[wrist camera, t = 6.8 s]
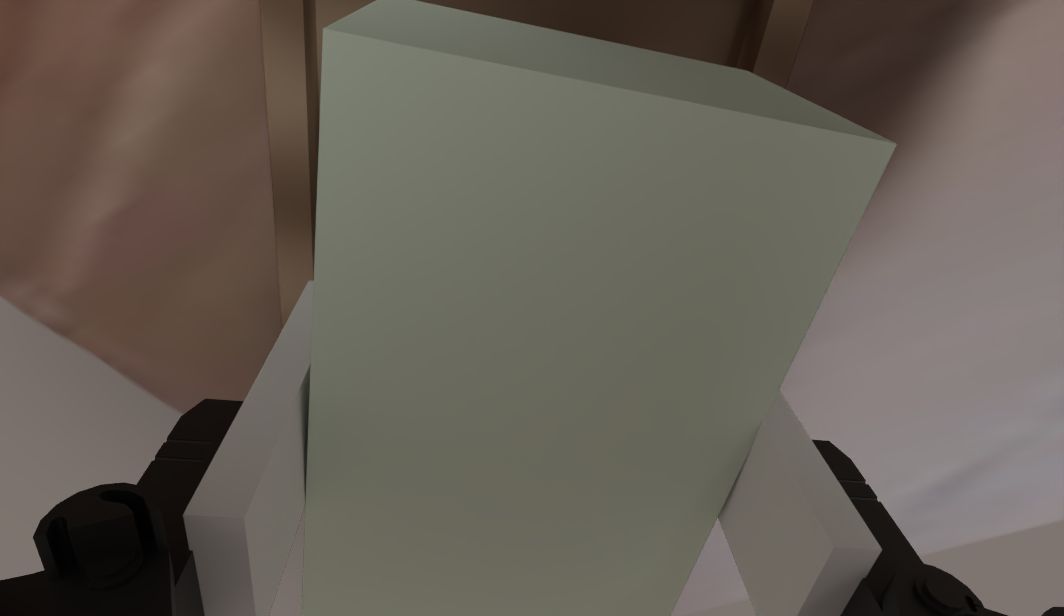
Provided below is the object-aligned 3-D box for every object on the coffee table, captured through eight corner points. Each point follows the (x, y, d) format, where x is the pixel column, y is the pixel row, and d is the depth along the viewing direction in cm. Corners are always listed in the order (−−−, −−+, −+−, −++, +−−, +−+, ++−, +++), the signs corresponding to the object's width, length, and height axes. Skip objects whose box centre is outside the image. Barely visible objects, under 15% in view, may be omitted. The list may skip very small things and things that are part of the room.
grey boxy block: (595, 509, 21) (631, 695, 16) (347, 485, 20) (298, 678, 15) (748, 70, 14) (897, 143, 9) (387, -6, 13) (323, 28, 8)
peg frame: (270, -179, 18) (224, -203, 15) (811, -86, 19) (869, -89, 16) (301, 392, 28) (277, 448, 24) (658, 418, 29) (677, 474, 26)
